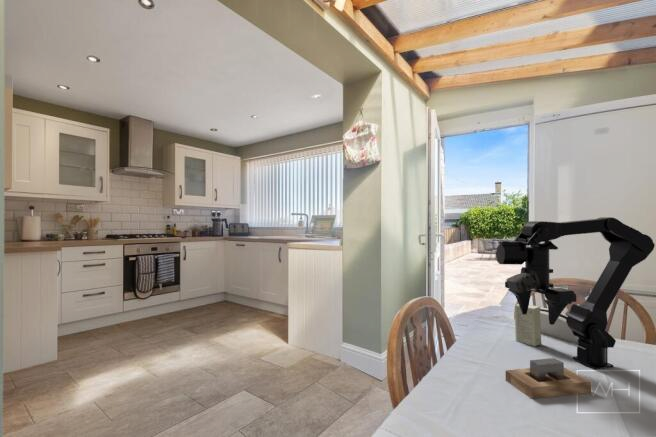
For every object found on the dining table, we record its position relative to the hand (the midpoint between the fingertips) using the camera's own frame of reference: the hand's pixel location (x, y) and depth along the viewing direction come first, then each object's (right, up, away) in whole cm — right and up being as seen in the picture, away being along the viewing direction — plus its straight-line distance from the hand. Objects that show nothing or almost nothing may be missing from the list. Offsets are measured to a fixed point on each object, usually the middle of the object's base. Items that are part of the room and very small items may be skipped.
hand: (537, 319), depth 88 cm
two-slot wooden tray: (-7, -12, -13) cm, 19 cm away
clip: (-7, -12, -13) cm, 19 cm away
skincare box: (+6, -12, +13) cm, 19 cm away
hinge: (+19, -12, +20) cm, 31 cm away
